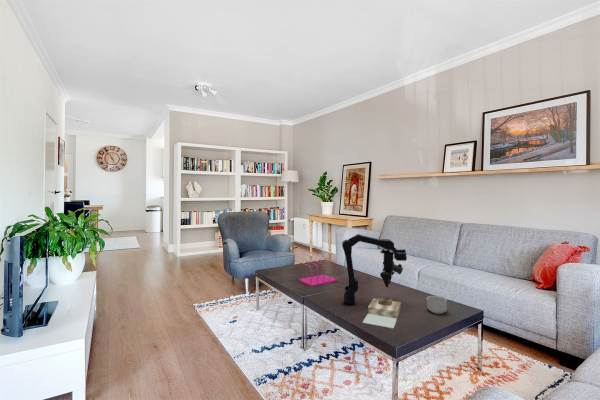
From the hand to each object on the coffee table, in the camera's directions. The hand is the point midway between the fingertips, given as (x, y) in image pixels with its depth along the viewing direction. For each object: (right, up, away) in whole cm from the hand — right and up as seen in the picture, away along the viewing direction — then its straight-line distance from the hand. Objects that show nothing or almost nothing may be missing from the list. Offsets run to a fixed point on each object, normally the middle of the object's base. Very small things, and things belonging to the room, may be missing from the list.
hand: (388, 285), depth 188 cm
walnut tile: (-4, -8, -8) cm, 12 cm away
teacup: (+26, -13, -10) cm, 31 cm away
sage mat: (-11, -13, -22) cm, 28 cm away
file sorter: (-40, -11, +49) cm, 64 cm away
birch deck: (-5, -12, -9) cm, 16 cm away
